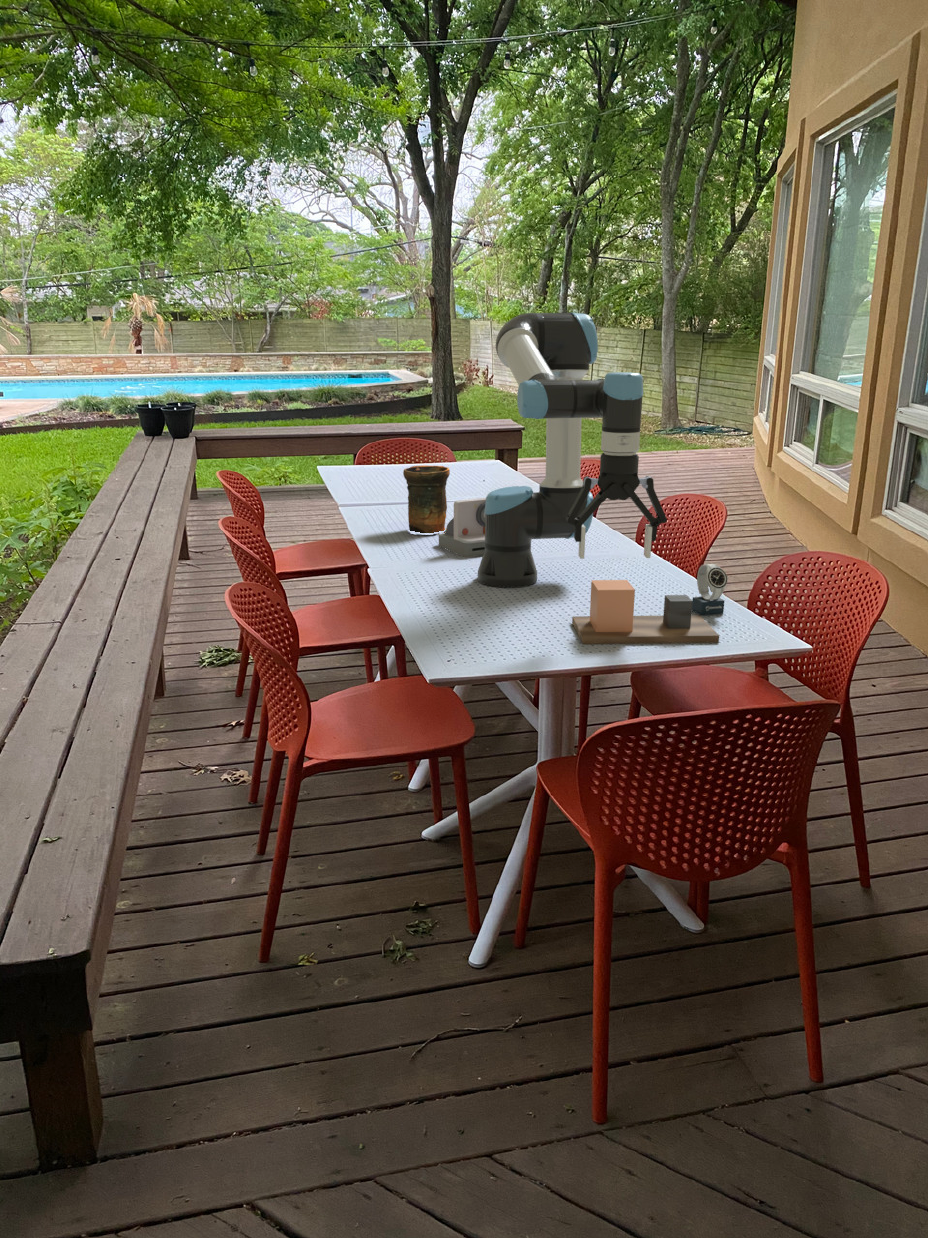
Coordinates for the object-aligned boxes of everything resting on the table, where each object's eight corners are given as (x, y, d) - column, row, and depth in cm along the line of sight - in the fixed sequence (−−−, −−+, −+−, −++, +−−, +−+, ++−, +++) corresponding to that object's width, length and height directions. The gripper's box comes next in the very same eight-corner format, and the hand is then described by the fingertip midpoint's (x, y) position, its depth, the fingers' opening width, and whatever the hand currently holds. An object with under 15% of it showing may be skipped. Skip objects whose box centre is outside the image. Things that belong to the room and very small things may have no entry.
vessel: (460, 532, 289) (458, 468, 283) (421, 539, 281) (419, 473, 275) (435, 524, 300) (433, 463, 294) (397, 531, 293) (394, 467, 286)
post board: (572, 623, 201) (573, 589, 199) (699, 621, 203) (701, 588, 200) (582, 644, 188) (584, 608, 186) (718, 642, 189) (721, 607, 187)
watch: (706, 618, 205) (710, 570, 202) (687, 608, 212) (691, 561, 209) (728, 616, 206) (732, 568, 203) (709, 606, 214) (713, 559, 210)
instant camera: (457, 559, 257) (457, 505, 253) (433, 543, 276) (433, 493, 271) (527, 553, 264) (528, 501, 260) (499, 538, 283) (499, 489, 278)
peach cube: (589, 620, 198) (591, 580, 195) (624, 620, 198) (627, 579, 196) (595, 632, 191) (598, 590, 188) (632, 631, 191) (635, 589, 188)
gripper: (560, 455, 179) (556, 561, 186) (687, 455, 181) (679, 560, 187) (554, 450, 187) (551, 552, 193) (677, 450, 188) (669, 551, 194)
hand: (614, 557), depth 190 cm, fingers open, 13 cm apart
